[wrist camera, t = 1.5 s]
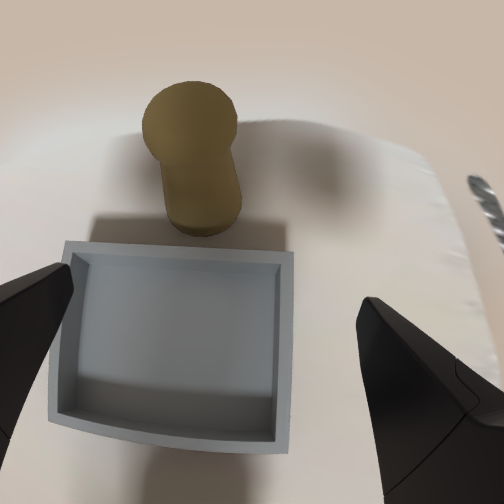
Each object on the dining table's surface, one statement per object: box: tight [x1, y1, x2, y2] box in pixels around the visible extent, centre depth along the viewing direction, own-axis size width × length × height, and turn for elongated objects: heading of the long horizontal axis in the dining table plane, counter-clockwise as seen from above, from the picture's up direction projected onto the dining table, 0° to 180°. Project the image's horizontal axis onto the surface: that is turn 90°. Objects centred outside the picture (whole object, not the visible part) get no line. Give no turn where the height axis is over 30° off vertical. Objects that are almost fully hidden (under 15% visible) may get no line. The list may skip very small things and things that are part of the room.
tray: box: [48, 241, 294, 454], centre depth 20 cm, size 16×13×4 cm
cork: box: [142, 81, 242, 237], centre depth 20 cm, size 6×6×11 cm
